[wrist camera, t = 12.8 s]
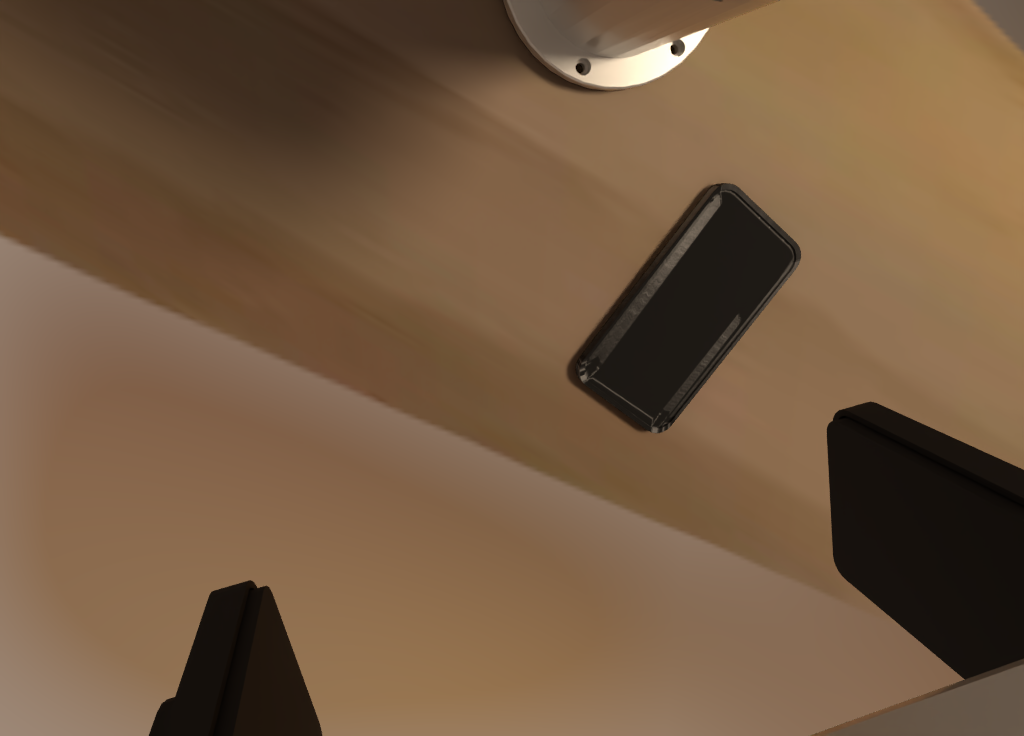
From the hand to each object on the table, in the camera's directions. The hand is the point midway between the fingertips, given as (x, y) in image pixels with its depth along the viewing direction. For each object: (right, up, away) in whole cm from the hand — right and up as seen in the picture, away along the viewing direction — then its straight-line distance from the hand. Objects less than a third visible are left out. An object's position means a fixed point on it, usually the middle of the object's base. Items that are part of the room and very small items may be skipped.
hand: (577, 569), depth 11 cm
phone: (+10, +7, +33) cm, 35 cm away
